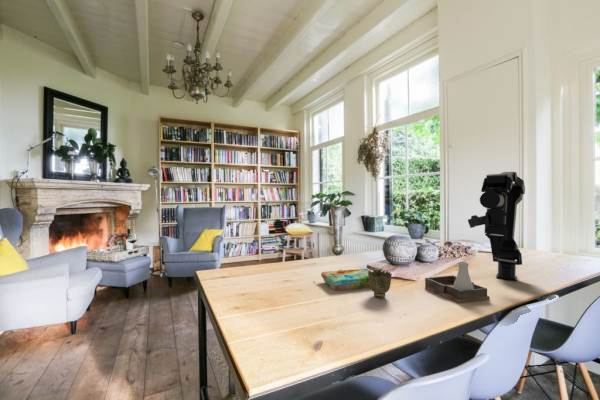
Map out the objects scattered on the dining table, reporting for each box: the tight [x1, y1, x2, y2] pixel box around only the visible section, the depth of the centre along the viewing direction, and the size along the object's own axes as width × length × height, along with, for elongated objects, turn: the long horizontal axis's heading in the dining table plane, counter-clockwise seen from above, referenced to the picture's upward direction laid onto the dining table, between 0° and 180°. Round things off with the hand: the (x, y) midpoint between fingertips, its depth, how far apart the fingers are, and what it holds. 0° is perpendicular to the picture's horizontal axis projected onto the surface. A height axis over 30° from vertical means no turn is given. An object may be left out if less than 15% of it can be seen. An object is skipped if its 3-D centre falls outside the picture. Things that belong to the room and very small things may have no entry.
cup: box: [368, 269, 393, 299], centre depth 93 cm, size 8×7×8 cm
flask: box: [453, 261, 474, 291], centre depth 93 cm, size 7×7×10 cm
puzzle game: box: [320, 268, 374, 291], centre depth 106 cm, size 12×5×20 cm
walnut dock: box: [424, 274, 491, 304], centre depth 96 cm, size 15×12×4 cm
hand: (493, 253), depth 100 cm, fingers open, 9 cm apart
